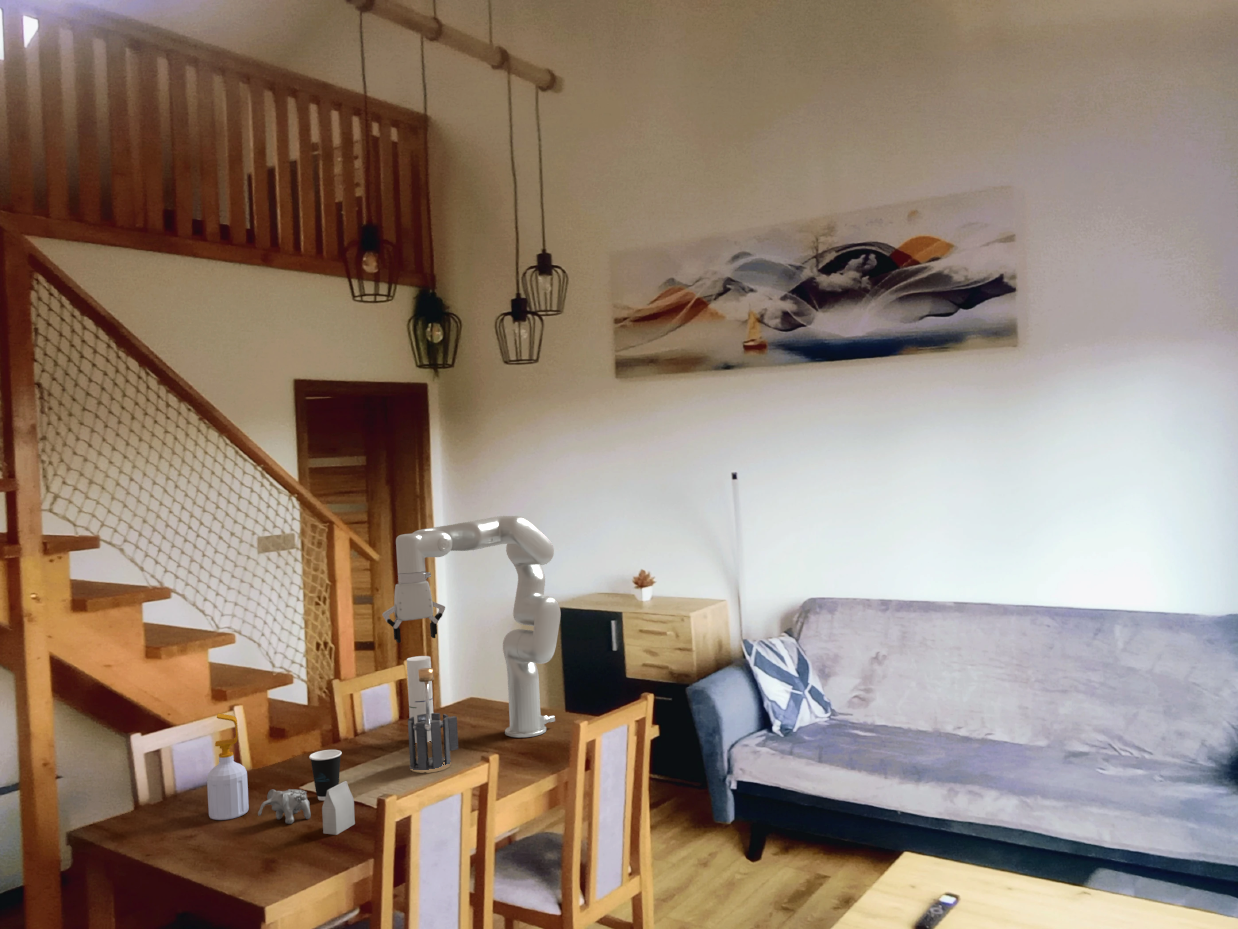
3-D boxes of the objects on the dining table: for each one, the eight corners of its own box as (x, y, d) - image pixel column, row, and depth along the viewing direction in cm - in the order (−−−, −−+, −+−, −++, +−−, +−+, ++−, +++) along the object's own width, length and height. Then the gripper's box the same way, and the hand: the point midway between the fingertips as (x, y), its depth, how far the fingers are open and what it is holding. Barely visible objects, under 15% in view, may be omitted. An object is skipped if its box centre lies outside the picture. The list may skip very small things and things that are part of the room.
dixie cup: (339, 789, 252) (337, 747, 252) (347, 798, 245) (345, 754, 245) (308, 796, 248) (306, 753, 248) (315, 805, 241) (312, 760, 241)
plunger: (437, 721, 274) (434, 664, 274) (448, 727, 267) (445, 669, 267) (408, 726, 269) (405, 669, 269) (419, 732, 262) (416, 674, 262)
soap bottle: (209, 811, 240) (204, 712, 240) (248, 805, 244) (244, 707, 244) (208, 823, 232) (203, 720, 232) (248, 816, 235) (243, 715, 235)
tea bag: (354, 824, 227) (352, 781, 227) (336, 834, 221) (334, 791, 221) (341, 822, 228) (339, 780, 228) (323, 833, 222) (321, 789, 222)
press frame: (450, 756, 277) (447, 709, 277) (465, 765, 268) (463, 716, 268) (404, 766, 270) (401, 717, 270) (418, 776, 260) (416, 726, 260)
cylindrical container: (431, 743, 291) (427, 660, 291) (408, 744, 292) (404, 661, 292) (436, 736, 298) (432, 655, 298) (413, 737, 299) (409, 656, 299)
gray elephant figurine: (318, 816, 234) (317, 784, 234) (281, 832, 223) (281, 798, 223) (288, 813, 238) (288, 781, 238) (251, 828, 227) (251, 795, 227)
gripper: (439, 573, 276) (443, 633, 276) (378, 580, 269) (382, 641, 269) (446, 576, 269) (449, 637, 269) (383, 583, 262) (386, 646, 262)
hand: (415, 639), depth 269 cm, fingers open, 9 cm apart
